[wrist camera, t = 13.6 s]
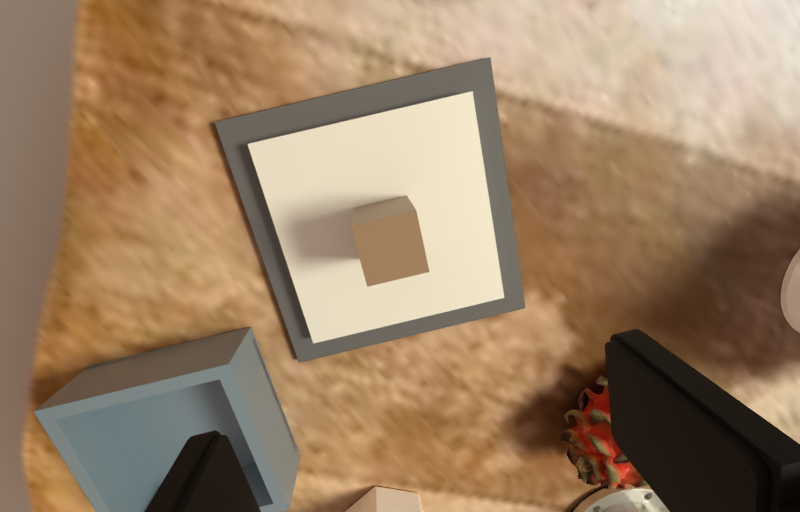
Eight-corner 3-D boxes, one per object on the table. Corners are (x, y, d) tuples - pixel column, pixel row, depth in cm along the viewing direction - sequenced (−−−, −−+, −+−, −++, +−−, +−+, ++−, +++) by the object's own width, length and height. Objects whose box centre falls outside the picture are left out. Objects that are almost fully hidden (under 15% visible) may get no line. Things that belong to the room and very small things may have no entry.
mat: (487, 58, 29) (490, 57, 28) (522, 305, 35) (525, 308, 34) (217, 122, 28) (214, 122, 28) (300, 358, 35) (298, 362, 34)
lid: (468, 92, 29) (500, 79, 22) (499, 292, 34) (533, 332, 27) (252, 143, 28) (215, 146, 22) (315, 336, 33) (301, 388, 26)
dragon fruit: (539, 435, 41) (609, 342, 40) (617, 499, 38) (695, 399, 37) (538, 458, 33) (625, 343, 33) (636, 542, 30) (735, 416, 29)
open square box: (252, 324, 34) (228, 364, 28) (301, 453, 38) (289, 509, 32) (90, 364, 33) (33, 411, 28) (157, 488, 38) (120, 551, 32)
